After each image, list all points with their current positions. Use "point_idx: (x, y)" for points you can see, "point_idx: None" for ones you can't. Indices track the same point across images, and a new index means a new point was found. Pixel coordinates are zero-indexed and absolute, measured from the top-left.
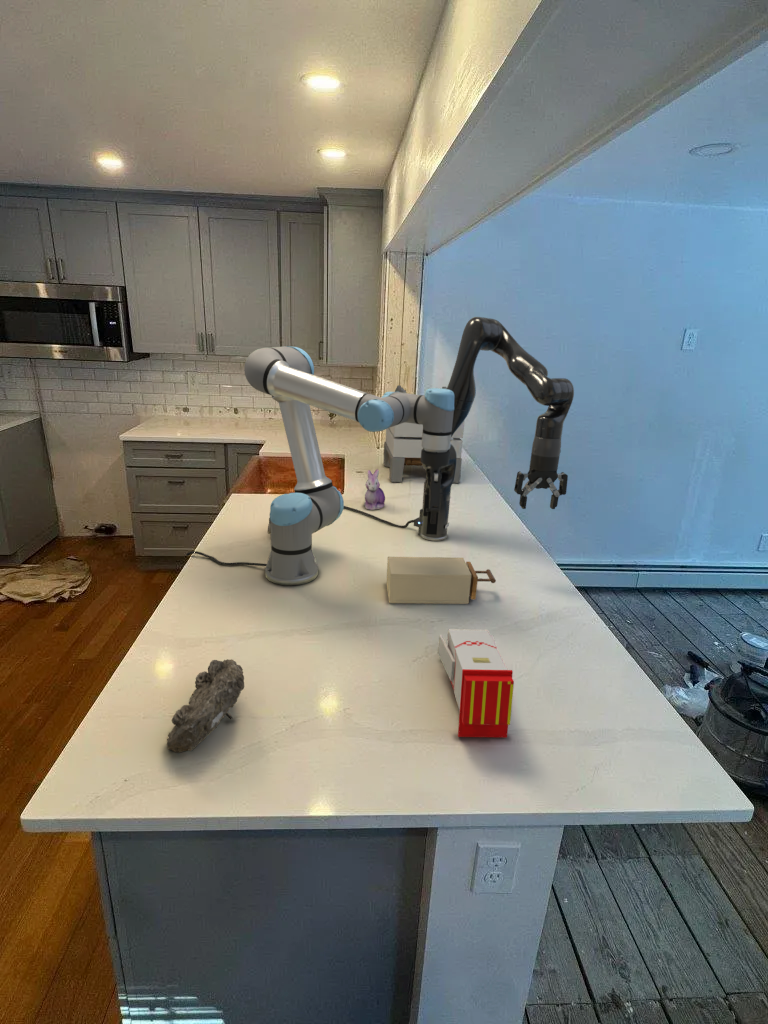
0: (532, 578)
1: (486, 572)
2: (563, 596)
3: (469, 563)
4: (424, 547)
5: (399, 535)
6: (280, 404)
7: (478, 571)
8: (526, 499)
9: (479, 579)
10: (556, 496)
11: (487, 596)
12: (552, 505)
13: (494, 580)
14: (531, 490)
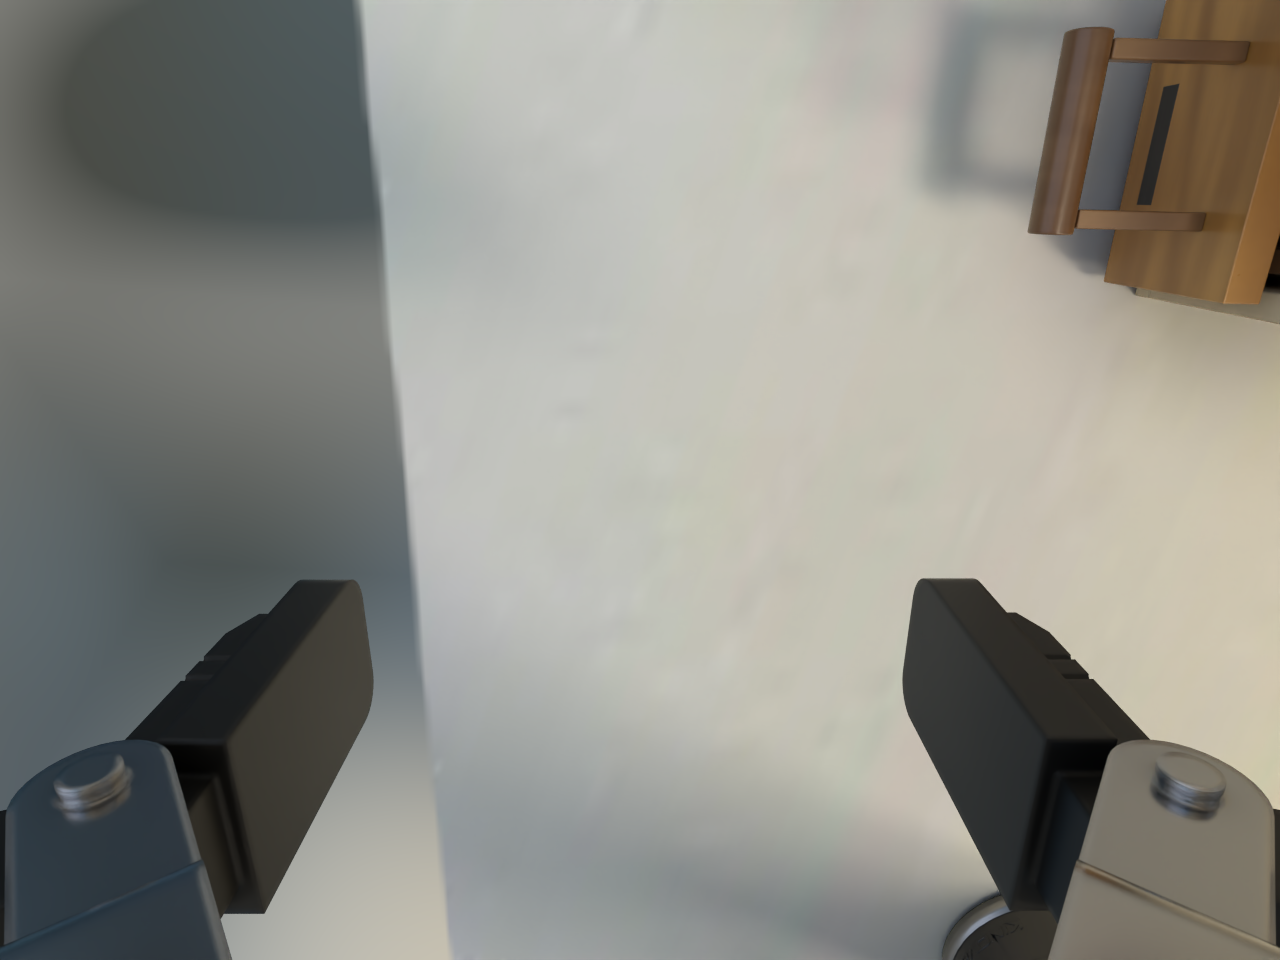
0: (585, 394)
1: (1077, 206)
2: (443, 107)
3: (1250, 263)
4: None
5: None
6: None
7: (1148, 213)
8: (1022, 692)
9: (1217, 40)
10: (153, 751)
11: (1013, 113)
12: (334, 635)
13: (1081, 31)
14: (1102, 872)
